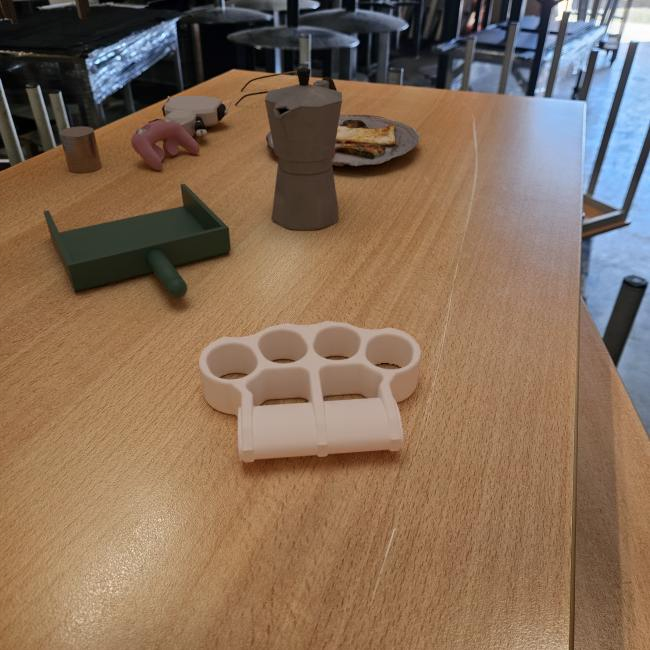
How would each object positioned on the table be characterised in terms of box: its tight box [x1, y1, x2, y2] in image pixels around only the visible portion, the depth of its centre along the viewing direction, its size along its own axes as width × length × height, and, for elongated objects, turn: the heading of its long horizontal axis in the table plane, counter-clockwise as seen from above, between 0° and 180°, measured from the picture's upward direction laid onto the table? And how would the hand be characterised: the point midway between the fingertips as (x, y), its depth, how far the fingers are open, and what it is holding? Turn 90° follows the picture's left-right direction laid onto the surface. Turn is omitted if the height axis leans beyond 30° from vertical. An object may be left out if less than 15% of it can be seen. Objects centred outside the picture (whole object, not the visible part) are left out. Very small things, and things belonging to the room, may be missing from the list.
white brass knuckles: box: [198, 320, 422, 463], centre depth 46 cm, size 3×18×15 cm
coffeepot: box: [264, 66, 343, 232], centre depth 70 cm, size 15×9×18 cm, turn 157°
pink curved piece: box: [130, 119, 200, 172], centre depth 89 cm, size 10×5×7 cm, turn 149°
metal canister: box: [59, 126, 103, 174], centre depth 86 cm, size 5×5×6 cm
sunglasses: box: [234, 69, 297, 106], centre depth 120 cm, size 14×15×5 cm
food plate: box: [265, 114, 422, 167], centre depth 95 cm, size 25×23×4 cm
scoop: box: [42, 183, 232, 299], centre depth 64 cm, size 23×17×4 cm
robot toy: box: [147, 95, 233, 138], centre depth 101 cm, size 12×4×15 cm
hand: (49, 20), depth 76 cm, fingers open, 8 cm apart
